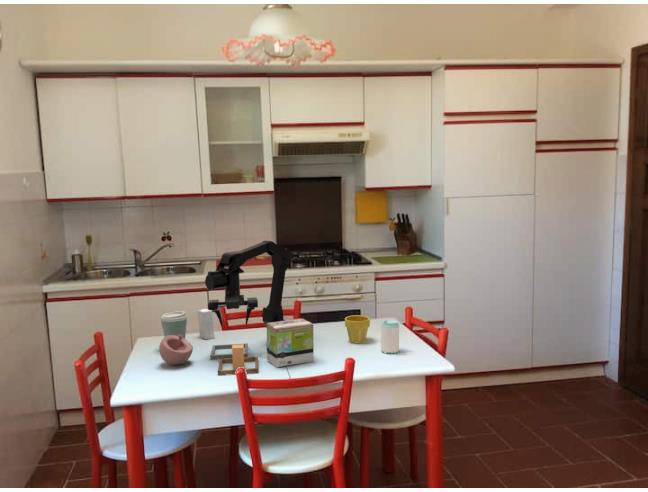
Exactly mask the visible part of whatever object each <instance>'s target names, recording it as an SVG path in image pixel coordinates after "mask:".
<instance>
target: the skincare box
mask: <svg viewBox="0 0 648 492" xmlns="http://www.w3.org/2000/svg"><path fill="white" fill-rule="evenodd" d="M197 320H198V332H199V338H201V339H203V340H206V339H208V340H212V339H214V338H215V331H214V328H215V327H214V318H213V312H212V310H208V308H203V309H197Z"/></svg>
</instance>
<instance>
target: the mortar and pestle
mask: <svg viewBox="0 0 648 492" xmlns="http://www.w3.org/2000/svg"><path fill="white" fill-rule="evenodd" d="M158 347H159V348H158V349H159V350H158V351H159V355H160V357H161V359H162V360H163V361H164V362H165V363H167V364H168V365H172V366H179V365H182V364H184V363H186V362H187V361H188V360H189V359H190V357H192V353H193V350H194V347H193V345H192V344H191V342H190V341H188V339H186V338H185V339H184V338H183V336H182V335H180V334H179V335H178V336H176V335H168V336H166V337H164V336H163V338H162V340H160V343H159V346H158Z"/></svg>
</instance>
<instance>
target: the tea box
mask: <svg viewBox="0 0 648 492" xmlns="http://www.w3.org/2000/svg"><path fill="white" fill-rule="evenodd" d="M266 361H268V362H269V363H270V364H271V365H272V366H274V367H275V368H281V367H284V366H285V367H286V366H292V365H298V364H306V363H312V362H314V323H312V322H310V321H308V320H306V319H304V318H294V319H286V320H285V321H279V322H271V323H267V328H266Z"/></svg>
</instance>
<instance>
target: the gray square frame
mask: <svg viewBox="0 0 648 492" xmlns="http://www.w3.org/2000/svg"><path fill="white" fill-rule="evenodd" d="M241 344H242V343H231V344H214V345H212V347H211V351H210V354H209V357H210V361H211V360H212V361H213V360H220V359H223V358H232V353H225V354H223V353H222V354H215V353H216V350H229V349H230V350H232V345H241ZM243 344H244V357H249V353H248V352H249V343H243Z"/></svg>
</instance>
